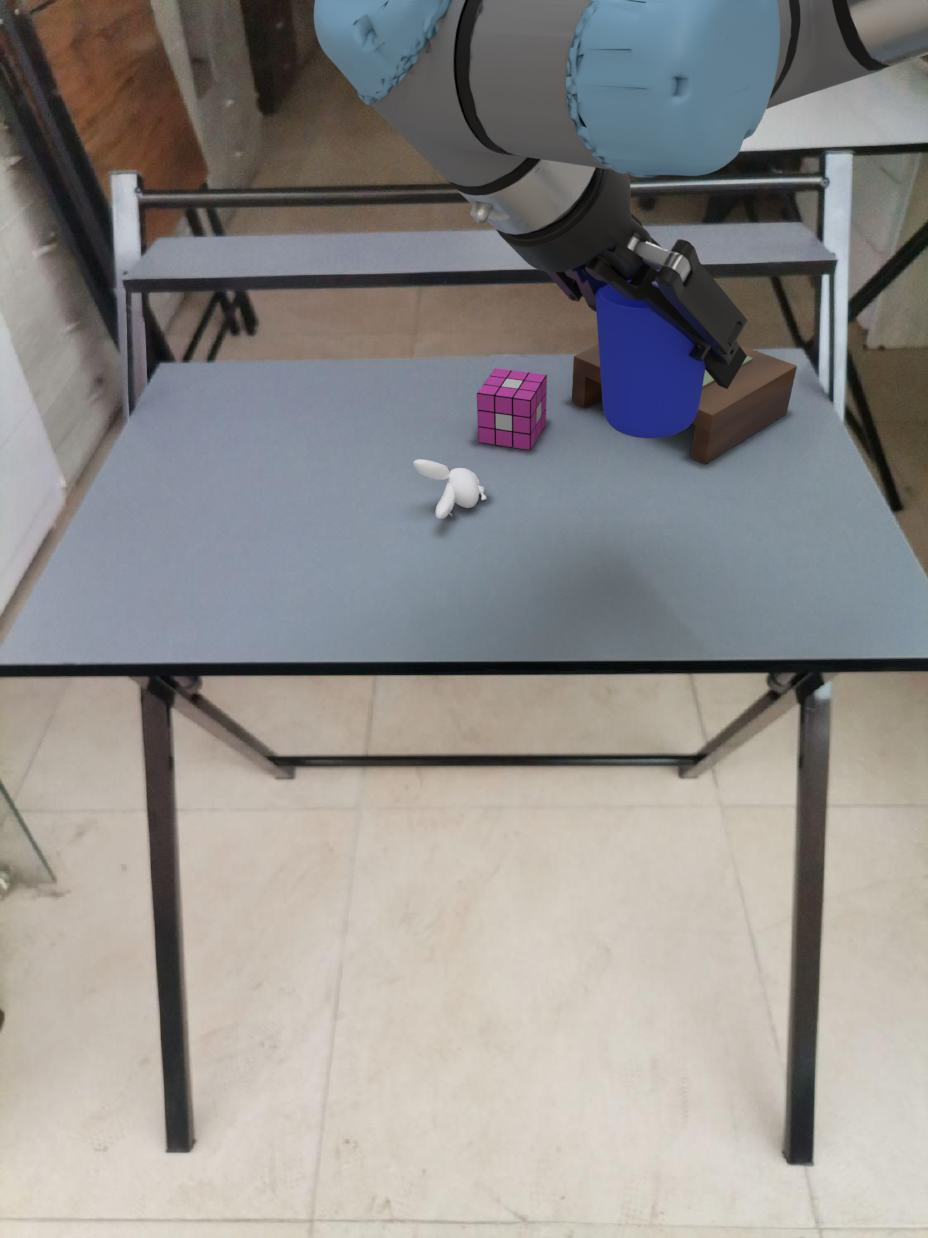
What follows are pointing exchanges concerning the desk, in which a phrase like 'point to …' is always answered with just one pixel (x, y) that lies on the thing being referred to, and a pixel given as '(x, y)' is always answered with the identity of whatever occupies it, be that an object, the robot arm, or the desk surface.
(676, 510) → the desk surface
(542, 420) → the puzzle toy
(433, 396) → the desk surface
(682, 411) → the mug
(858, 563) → the desk surface
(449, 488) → the rabbit figurine
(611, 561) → the desk surface
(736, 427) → the shelf
